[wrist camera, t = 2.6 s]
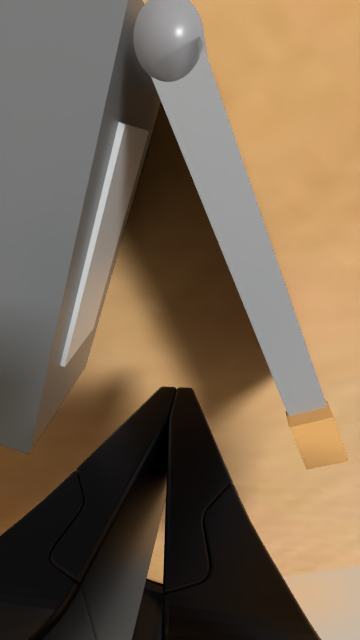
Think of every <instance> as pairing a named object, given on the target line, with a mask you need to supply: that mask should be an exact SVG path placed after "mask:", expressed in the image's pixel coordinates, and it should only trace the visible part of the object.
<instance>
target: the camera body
mask: <svg viewBox="0 0 360 640" xmlns="http://www.w3.org/2000/svg"><path fill="white" fill-rule="evenodd" d="M143 6H144V3H143V1H142V0H0V445H3V446H6V447H9V448H12V449H14V450H17V451H20V452H23V453H26V454H29V453H30V452H31V450H32V449H33V447H34V445H35V444H36V442H37V441H38V439H39V438H40V436H41V435H42V433H43V432H44V430H45V428H46V427H47V425H48V424H49V422H50V421H51V419H52V418H53V416H54V415H55V413H56V411H57V410H58V408H59V407H60V405H61V404H62V402H63V401H64V399H65V397H66V396H67V394H68V393H69V391H70V390H71V388H72V387H73V385H74V384H75V382H76V380H77V379H78V377H79V376H80V374H81V373H82V371H83V370H84V368H85V366H86V363H87V359H88V356H89V352H90V349H91V345H92V342H93V338H94V335H95V331H96V328H97V324H98V321H99V317H100V314H101V310H102V307H103V303H104V300H105V296H106V293H107V289H108V286H109V282H110V279H111V275H112V272H113V268H114V265H115V261H116V258H117V254H118V251H119V247H120V244H121V240H122V237H123V233H124V230H125V226H126V223H127V219H128V216H129V212H130V209H131V205H132V202H133V198H134V195H135V191H136V188H137V184H138V181H139V177H140V174H141V171H142V167H143V164H144V160H145V157H146V153H147V150H148V146H149V143H150V139H151V136H152V132H153V129H154V125H155V122H156V118H157V115H158V111H159V108H160V104H161V100H160V97H159V95H158V92H157V90H156V87H155V85H154V83H153V80H152V78H151V76H150V75H149V74H148V73H147V72H146V71H145V70H144V69H143V68H142V66H141V64H140V63H139V61H138V58H137V56H136V53H135V48H134V38H133V35H134V27H135V22H136V19H137V17H138V14H139V12H140V10H141V9H142V7H143Z"/></svg>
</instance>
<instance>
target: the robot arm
mask: <svg viewBox="0 0 360 640" xmlns="http://www.w3.org/2000/svg"><path fill="white" fill-rule="evenodd" d="M165 498H166V515H165V545H164V576H163V586H160V585H157V584H154V583H151V582H148V581H146V578H147V574H148V570H149V565H150V561H151V557H152V553H153V549H154V544H155V540H156V536H157V532H158V528H159V523H160V519H161V515H162V511H163V507H164V503H165ZM0 640H321V639H320V637H319V636H318V634H317V633H316V631H315V630H314V628H313V627H312V625H311V624H310V622H309V621H308V619H307V617H306V616H305V614H304V613H303V611H302V609H301V608H300V606H299V604H298V602H297V601H296V599H295V597H294V596H293V594H292V592H291V591H290V589H289V587H288V585H287V584H286V582H285V580H284V579H283V577H282V575H281V573H280V572H279V570H278V568H277V567H276V565H275V563H274V562H273V560H272V558H271V557H270V555H269V553H268V551H267V550H266V548H265V546H264V545H263V543H262V541H261V539H260V537H259V536H258V534H257V532H256V530H255V528H254V526H253V525H252V523H251V521H250V519H249V517H248V515H247V512H246V510H245V508H244V506H243V504H242V502H241V500H240V498H239V495H238V493H237V491H236V488H235V486H234V485H233V482H232V479H231V477H230V475H229V472H228V470H227V468H226V465H225V463H224V461H223V458H222V456H221V454H220V451H219V449H218V447H217V444H216V442H215V440H214V437H213V435H212V433H211V430H210V428H209V426H208V423H207V421H206V419H205V416H204V414H203V412H202V409H201V407H200V405H199V402H198V400H197V398H196V395H195V393H194V391H193V389H192V388H182V387H179V388H177V389H176V388H175V387H160V388H159V389H158V390H157V391H156V392H155V393H154V394H153V395H152V396H151V397H150V398H149V399H148V400H147V401H146V402H145V403H144V404H143V405H142V406H141V407H140V408H139V409H138V410H137V411H136V412H135V413H134V414H133V415H132V416H131V417H130V418H128V419H127V420H126V421H125V422H124V423H123V424H122V425H121V426H120V427H119V428H118V429H117V430H116V431H115V432H114V433H113V434H112V435H111V436H110V437H109V438H108V439H107V440H106V441H105V442H104V443H103V444H102V445H101V446H100V447H99V448H98V449H97V450H96V451H95V452H94V453H93V454H91V455H90V456H89V457H88V458H87V459H86V460H85V461H84V462H83V463H82V464H81V465H80V466H79V467H78V468H77V471H74V472H73V473H72V474H71V475H70V476H69V477H68V478H67V479H66V480H65V481H64V482H62V483H61V484H60V485H59V486H58V487H57V488H56V489H55V490H54V491H53V492H52V493H51V494H50V495H48V496H47V497H46V498H45V499H44V500H43V501H42V502H41V503H39V504H38V505H37V506H36V507H35V508H34V509H32V510H31V511H30V512H29V513H28V514H26V515H25V516H24V517H23V518H22V519H21V520H19V521H18V522H17V523H16V524H14V525H13V526H12V527H11V528H9V529H8V530H7V531H6V532H5V533H3V534H2V535H1V536H0Z"/></svg>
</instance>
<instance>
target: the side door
mask: <svg viewBox="0 0 360 640" xmlns="http://www.w3.org/2000/svg"><path fill="white" fill-rule="evenodd" d="M133 38H134V48H135V53H136V56H137V58H138V61H139V63H140V64H141V66H142V68H143V69H144V70H145V71H146V72H147V73H148V74H149V75H150V76H151V78H152V80H153V83H154V85H155V87H156V90H157V92H158V95H159V97H160V100H161V102H162V105H163V107H164V110H165V112H166V115H167V117H168V120H169V122H170V124H171V127H172V129H173V132H174V134H175V137H176V139H177V142H178V144H179V147H180V149H181V152H182V154H183V157H184V159H185V161H186V164H187V166H188V169H189V171H190V174H191V176H192V179H193V181H194V184H195V186H196V189H197V191H198V194H199V196H200V198H201V201H202V203H203V206H204V208H205V211H206V213H207V216H208V218H209V221H210V223H211V226H212V228H213V231H214V233H215V236H216V238H217V240H218V243H219V245H220V248H221V250H222V253H223V255H224V258H225V260H226V263H227V265H228V268H229V270H230V273H231V275H232V277H233V280H234V282H235V285H236V287H237V290H238V292H239V295H240V297H241V300H242V302H243V305H244V307H245V310H246V312H247V314H248V317H249V319H250V322H251V324H252V327H253V329H254V332H255V334H256V337H257V339H258V342H259V344H260V347H261V349H262V351H263V354H264V356H265V359H266V361H267V364H268V366H269V369H270V371H271V374H272V376H273V379H274V381H275V384H276V386H277V388H278V391H279V393H280V396H281V398H282V401H283V403H284V406H285V408H286V415H287V419H288V424H289V428H290V430H291V433H292V435H293V437H294V440H295V442H296V445H297V447H298V450H299V452H300V454H301V457H302V459H303V462H304V464H305V467H306V469H311V468H316V467H321V466H326V465H331V464H336V463H341V462H346V461H348V458H347V455H346V452H345V449H344V446H343V443H342V440H341V438H340V435H339V432H338V429H337V426H336V423H335V420H334V417H333V414H332V412H331V410H330V407H329V405H328V402H327V401H326V402H325V399H324V396H323V393H322V390H321V387H320V385H319V382H318V379H317V376H316V373H315V370H314V367H313V364H312V361H311V358H310V355H309V353H308V350H307V347H306V344H305V341H304V338H303V335H302V332H301V329H300V326H299V323H298V320H297V318H296V315H295V312H294V309H293V306H292V303H291V300H290V297H289V294H288V291H287V288H286V286H285V283H284V280H283V277H282V274H281V271H280V268H279V265H278V262H277V259H276V256H275V253H274V251H273V248H272V245H271V242H270V239H269V236H268V233H267V230H266V227H265V224H264V221H263V219H262V216H261V213H260V210H259V207H258V204H257V201H256V198H255V195H254V192H253V189H252V186H251V184H250V181H249V178H248V175H247V172H246V169H245V166H244V163H243V160H242V157H241V154H240V152H239V149H238V146H237V143H236V140H235V137H234V134H233V131H232V128H231V125H230V122H229V119H228V117H227V114H226V111H225V108H224V105H223V102H222V99H221V96H220V93H219V90H218V87H217V85H216V82H215V79H214V76H213V73H212V70H211V67H210V64H209V61H208V55H207V49H206V44H205V38H204V32H203V26H202V22H201V18H200V16H199V13H198V11H197V10H196V8H195V7H194V5H193V4H192V3H191V2H190V1H189V0H148V1H147V2H146V3H145V4H144V6H143V7H142V9H141V10H140V12H139V14H138V17H137V19H136V22H135V27H134V35H133Z"/></svg>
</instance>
